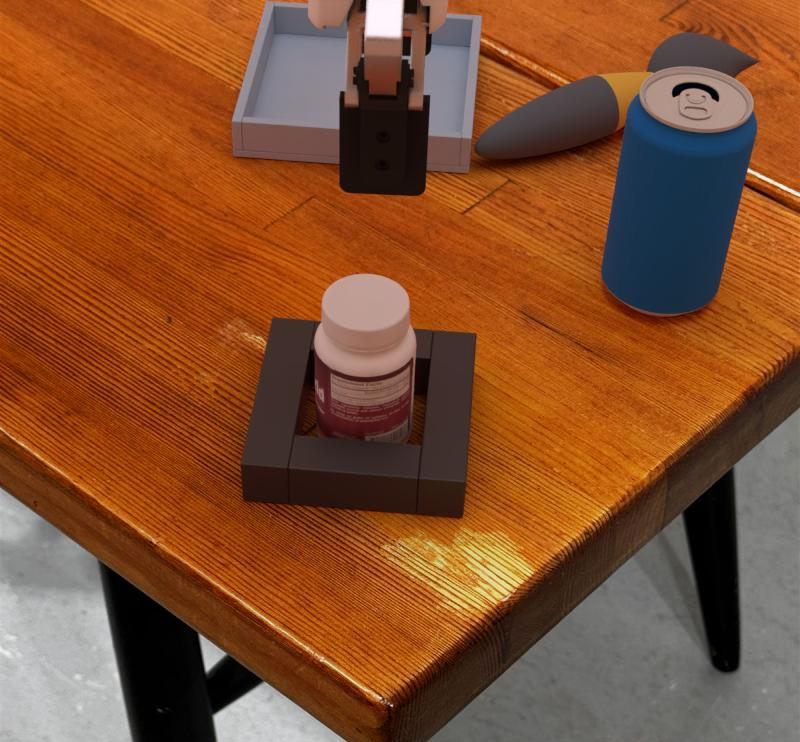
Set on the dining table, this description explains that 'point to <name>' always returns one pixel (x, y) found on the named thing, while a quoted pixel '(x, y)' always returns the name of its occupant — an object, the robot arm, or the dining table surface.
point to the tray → (324, 79)
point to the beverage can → (678, 190)
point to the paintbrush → (599, 101)
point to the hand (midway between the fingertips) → (387, 117)
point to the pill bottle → (365, 361)
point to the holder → (358, 459)
